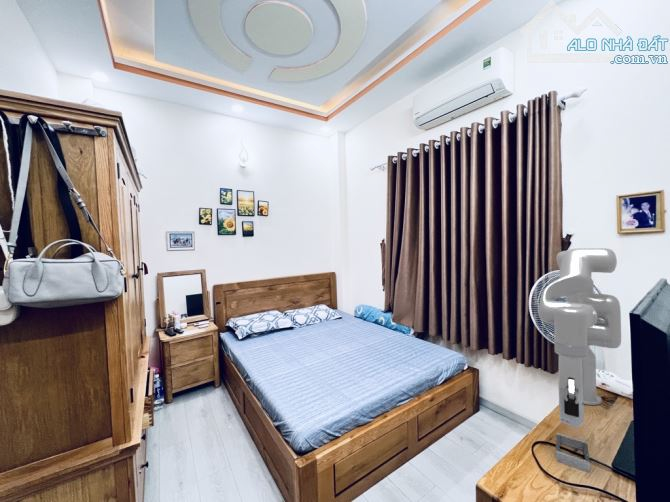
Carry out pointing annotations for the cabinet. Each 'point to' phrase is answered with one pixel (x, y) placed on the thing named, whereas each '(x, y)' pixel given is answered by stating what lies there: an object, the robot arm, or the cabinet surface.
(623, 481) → the cabinet surface
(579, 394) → the skincare box
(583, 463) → the socket collar
